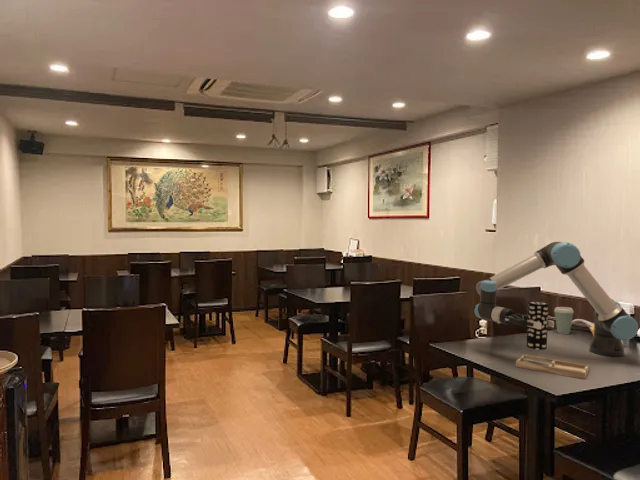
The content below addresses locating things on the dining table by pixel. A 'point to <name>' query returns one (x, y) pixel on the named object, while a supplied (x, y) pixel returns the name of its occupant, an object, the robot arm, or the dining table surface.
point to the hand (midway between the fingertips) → (547, 325)
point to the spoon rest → (584, 322)
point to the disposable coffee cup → (563, 319)
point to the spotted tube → (534, 335)
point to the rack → (553, 366)
